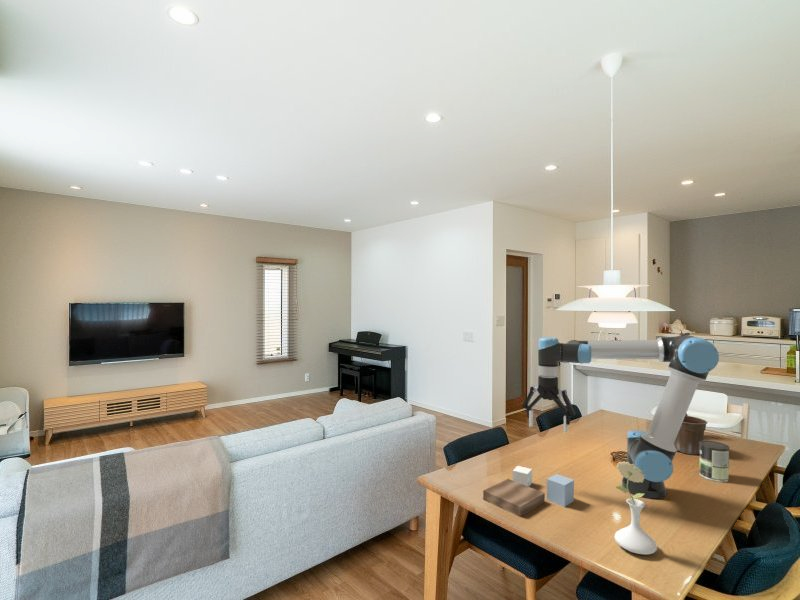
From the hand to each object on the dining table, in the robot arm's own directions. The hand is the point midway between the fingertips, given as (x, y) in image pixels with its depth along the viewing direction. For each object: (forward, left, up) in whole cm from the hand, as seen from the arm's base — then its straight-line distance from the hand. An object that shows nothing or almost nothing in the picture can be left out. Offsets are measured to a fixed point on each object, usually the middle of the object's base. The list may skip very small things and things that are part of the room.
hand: (547, 429), depth 165 cm
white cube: (+9, +4, -24) cm, 26 cm away
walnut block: (+3, +19, -24) cm, 31 cm away
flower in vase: (-37, +15, -24) cm, 47 cm away
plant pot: (-23, -94, -24) cm, 99 cm away
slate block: (-8, +5, -24) cm, 26 cm away
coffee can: (-40, -66, -24) cm, 81 cm away
